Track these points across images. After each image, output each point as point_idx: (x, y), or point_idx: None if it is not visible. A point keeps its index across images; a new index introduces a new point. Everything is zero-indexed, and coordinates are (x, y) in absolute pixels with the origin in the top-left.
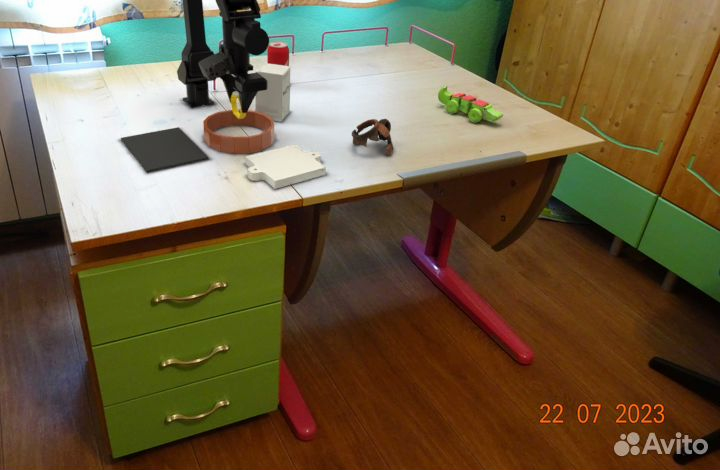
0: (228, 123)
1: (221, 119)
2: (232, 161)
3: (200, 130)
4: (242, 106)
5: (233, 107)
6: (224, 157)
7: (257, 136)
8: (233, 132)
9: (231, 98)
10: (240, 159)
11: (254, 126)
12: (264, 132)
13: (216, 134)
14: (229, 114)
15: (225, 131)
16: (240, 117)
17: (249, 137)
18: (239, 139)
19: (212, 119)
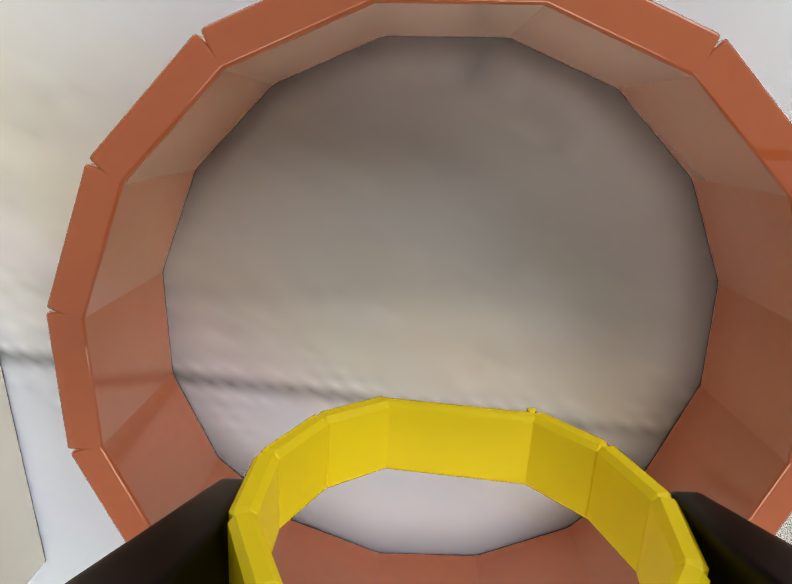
0: (717, 366)
1: (761, 319)
2: (38, 67)
3: (783, 84)
4: (116, 549)
5: (598, 471)
6: (137, 36)
7: (62, 407)
8: (571, 337)
9: (681, 558)
10: (53, 151)
11: (573, 526)
12: (118, 503)
13: (258, 9)
14: (767, 423)
15: (627, 286)
16: (316, 419)
17: (50, 323)
18: (76, 216)
19: (763, 204)
